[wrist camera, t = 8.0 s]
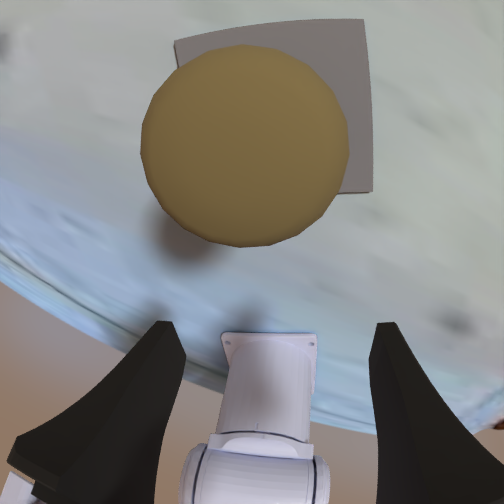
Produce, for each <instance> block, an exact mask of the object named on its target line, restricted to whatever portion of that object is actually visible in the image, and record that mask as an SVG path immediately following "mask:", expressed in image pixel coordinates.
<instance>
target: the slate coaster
mask: <svg viewBox="0 0 504 504" xmlns="http://www.w3.org/2000/svg"><path fill="white" fill-rule="evenodd" d="M174 43H175V48H176V54H177V59H178V65H179V67H181V66H183V65H184V64H186V63H188V62H189V61H191V60H193V59H195V58H196V57H198V56H200V55H202V54H203V53H205V52H207V51H210V50H214V49H219V48H224V47H229V46H235V45H240V44H245V45H253V46H260V47H267V48H273V49H278V50H280V51H282V52H284V53H286V54H288V55H290V56H292V57H294V58H296V59H298V60H300V61H302V62H304V63H305V64H307V65H309V66H310V67H311V68H312V69H313V70H314V71H315V72H316V73H317V74H318V75H319V76H320V77H321V78H322V79H323V80H324V82H325V83H326V84H327V85H328V86H329V87H330V88H331V89H332V90H333V92H334V94H335V96H336V98H337V100H338V103H339V105H340V107H341V109H342V111H343V114H344V116H345V118H346V121H347V127H348V139H349V152H350V156H349V159H348V163H347V167H346V171H345V175H344V178H343V182H342V186H341V188H340V190H339V192H338V193H344V192H373V124H372V101H371V85H370V72H369V61H368V51H367V42H366V34H365V26H364V19H313V20H296V21H284V22H273V23H265V24H257V25H249V26H243V27H236V28H230V29H225V30H219V31H214V32H209V33H204V34H200V35H195V36H191V37H187V38H183V39H179V40H175V41H174Z"/></svg>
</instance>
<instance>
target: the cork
mask: <svg viewBox="0 0 504 504" xmlns="http://www.w3.org/2000/svg"><path fill="white" fill-rule="evenodd" d="M140 155H141V159H142V163H143V167H144V171H145V175H146V179H147V182H148V185H149V187H150V188H151V190H152V192H153V193H154V195H155V197H156V198H157V200H158V202H159V203H160V205H161V207H162V208H163V210H164V211H165V212H166V213H168V214H169V215H170V216H171V217H172V218H173V219H174V220H175V221H176V222H177V223H178V224H179V225H180V226H181V227H183V228H184V229H186V230H187V231H189V232H191V233H193V234H195V235H197V236H199V237H201V238H203V239H205V240H207V241H209V242H214V243H219V244H223V245H228V246H233V247H238V248H243V247H258V246H270V245H273V244H275V243H278V242H281V241H283V240H286V239H289V238H291V237H294V236H297V235H299V234H300V233H301V232H302V231H304V230H305V229H306V228H308V227H309V226H310V225H312V224H313V223H314V222H315V221H317V220H318V219H319V218H321V217H322V215H323V214H324V213H325V211H326V210H327V208H328V207H329V205H330V204H331V202H332V201H333V199H334V198H335V196H336V195H337V193H338V192H339V190H340V188H341V186H342V182H343V178H344V175H345V171H346V167H347V163H348V159H349V156H350V152H349V139H348V127H347V121H346V118H345V116H344V114H343V111H342V109H341V107H340V105H339V103H338V100H337V98H336V96H335V94H334V92H333V90H332V89H331V88H330V87H329V86H328V85H327V84H326V83H325V82H324V80H323V79H322V78H321V77H320V76H319V75H318V74H317V73H316V72H315V71H314V70H313V69H312V68H311V67H310V66H309V65H307V64H305V63H304V62H302V61H300V60H298V59H296V58H294V57H292V56H290V55H288V54H286V53H284V52H282V51H280V50H278V49H273V48H267V47H260V46H253V45H245V44H240V45H235V46H229V47H224V48H219V49H214V50H210V51H207V52H205V53H203V54H202V55H200V56H198V57H196V58H195V59H193V60H191V61H189V62H188V63H186V64H184V65H183V66H181V67H179V68H178V69H176V70H175V71H174V72H173V73H172V74H171V75H170V76H169V78H168V79H167V80H166V81H165V82H164V83H163V85H162V86H161V87H160V88H159V89H158V90H157V92H156V93H155V94H154V95H153V98H152V100H151V103H150V105H149V108H148V110H147V113H146V115H145V118H144V120H143V123H142V133H141V151H140Z"/></svg>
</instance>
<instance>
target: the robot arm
mask: <svg viewBox="0 0 504 504" xmlns="http://www.w3.org/2000/svg"><path fill="white" fill-rule="evenodd" d="M221 340H222V343H223V347H224V350H225V354H226V357H227V361H228V364H229V368H230V369H229V373H228V378H227V382H226V387H225V391H224V396H223V401H222V405H221V410H220V414H219V419H218V423H217V428H216V432H215V434H212V433H211V434H210V436H209V441H208V444H204V443H200V444H198V445H197V446H196V447H195V448H193V449H192V450H191V451H190V452H189V454H188V456H187V458H186V461H185V463H184V466H183V470H182V474H181V478H180V484H179V493H178V495H179V496H178V501H179V504H328V501H329V494H330V472H329V467H328V465H327V463H326V462H325V461H324V460H323V458H322V457H321V456H317V455H316V456H315V455H313V448H314V447H313V446H314V445H313V444H309V430H310V406H311V394H313V393H314V386H315V372H316V355H317V335H316V334H312V333H233V332H225V333H223V334H222V336H221ZM311 342H312V343H311ZM185 360H186V354H185V352H184V349H183V347H182V345H181V342H180V340H179V337H178V335H177V333H176V330H175V328H174V325H173V323H172V322H171V321H156V323H155V324H154V325H153V326H152V327H151V328H150V329H149V330H148V331H147V332H146V334H145V335H144V336H143V337H142V338H141V339H140V340H139V341H138V343H137V344H136V345H135V346H134V347H133V348H132V349H131V350H130V351H129V353H128V354H127V355H126V356H125V357H124V358H123V359H122V360H121V361H120V363H118V365H117V366H116V367H115V368H114V369H113V370H112V371H111V372H110V373H109V374H108V375H107V376H106V377H105V378H104V379H103V380H102V381H101V382H100V383H98V384H97V386H95V387H94V388H93V389H92V390H91V391H89V392H88V393H87V394H86V395H85V396H83V397H82V398H81V399H80V400H79V401H77V402H76V403H74V404H73V405H72V406H70V407H69V408H67V409H66V410H65V411H64V412H62V413H60V414H59V415H57V416H56V417H54V418H53V419H51V420H49V421H48V422H46V423H44V424H43V425H40V426H39V427H37V428H35V429H33V430H31V431H29V432H26V433H24V434H22V435H20V436H17V438H16V441H15V443H14V445H13V447H12V449H11V452H10V454H9V456H8V458H7V463H8V464H10V465H11V466H13V467H14V468H16V469H17V470H19V471H21V472H22V473H24V474H25V475H27V476H29V477H30V478H32V479H34V480H35V484H33V483H31V482H29V481H28V480H26V479H24V478H23V477H21V476H19V475H18V474H16V473H15V472H13V471H11V472H10V473H9V476H8V478H7V481H6V484H5V486H4V489H3V491H2V494H1V497H0V504H154V494H155V484H156V475H157V468H158V462H159V456H160V451H161V446H162V440H163V436H164V433H165V429H166V426H167V423H168V420H169V416H170V413H171V411H172V408H173V405H174V402H175V399H176V396H177V392H178V390H179V387H180V384H181V380H182V376H183V371H184V366H185ZM369 376H370V388H371V395H372V402H373V408H374V415H375V422H376V430H377V438H378V484H377V486H378V487H377V499H376V504H504V465H503V464H502V463H501V462H500V461H499V460H497V459H496V458H495V457H494V456H493V455H492V454H491V453H490V452H489V451H487V450H486V449H485V448H484V447H483V446H482V445H481V444H480V443H479V441H478V440H477V439H476V438H475V437H474V436H473V435H472V434H471V433H470V432H469V431H468V430H467V429H466V428H465V427H464V425H463V424H462V423H461V422H460V421H459V419H458V418H457V417H456V416H455V415H454V413H453V412H452V411H451V410H450V408H449V407H448V406H447V404H446V403H445V402H444V400H443V399H442V398H441V396H440V395H439V393H438V392H437V390H436V389H435V387H434V386H433V385H432V383H431V382H430V380H429V379H428V377H427V375H426V374H425V372H424V371H423V369H422V367H421V366H420V364H419V363H418V361H417V359H416V358H415V356H414V354H413V353H412V351H411V349H410V348H409V346H408V344H407V342H406V341H405V339H404V337H403V335H402V333H401V332H400V330H399V328H398V326H397V324H396V323H395V322H386V323H377V327H376V331H375V335H374V340H373V344H372V348H371V352H370V356H369Z"/></svg>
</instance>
